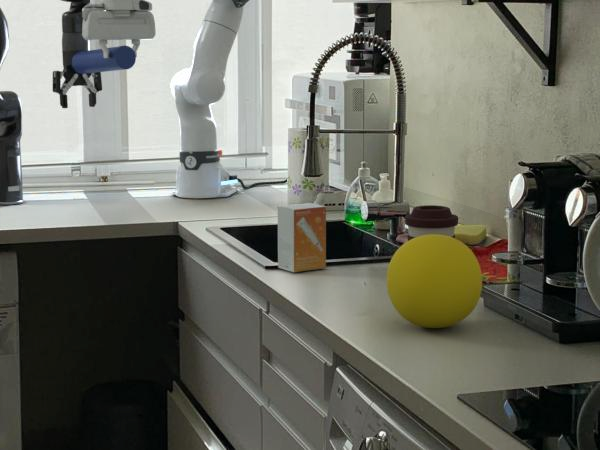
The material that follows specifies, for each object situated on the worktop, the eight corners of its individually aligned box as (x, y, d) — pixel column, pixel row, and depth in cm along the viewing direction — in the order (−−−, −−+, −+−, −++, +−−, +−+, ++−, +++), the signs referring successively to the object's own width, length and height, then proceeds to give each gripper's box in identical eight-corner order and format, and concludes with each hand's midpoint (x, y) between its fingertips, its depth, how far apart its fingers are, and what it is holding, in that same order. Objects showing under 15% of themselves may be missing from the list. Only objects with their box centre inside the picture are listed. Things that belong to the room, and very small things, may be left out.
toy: (451, 310, 179) (452, 224, 177) (498, 332, 165) (500, 239, 163) (371, 319, 174) (371, 230, 171) (412, 342, 160) (413, 246, 157)
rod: (72, 74, 289) (70, 51, 289) (92, 73, 293) (90, 51, 293) (116, 69, 271) (114, 45, 270) (136, 68, 275) (134, 45, 274)
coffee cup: (400, 280, 202) (400, 204, 200) (450, 279, 203) (451, 203, 201) (409, 292, 193) (410, 212, 190) (462, 291, 193) (463, 211, 191)
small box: (294, 273, 210) (293, 209, 208) (277, 268, 215) (276, 205, 213) (327, 268, 215) (326, 205, 212) (309, 263, 220) (309, 202, 218)
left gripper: (92, 49, 300) (94, 106, 303) (46, 49, 291) (49, 108, 294) (105, 49, 294) (107, 106, 297) (58, 49, 285) (61, 109, 288)
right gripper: (88, 2, 263) (90, 58, 266) (157, 3, 276) (159, 56, 278) (76, 4, 268) (79, 58, 270) (145, 5, 281) (147, 57, 283)
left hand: (78, 107), depth 295 cm, fingers open, 8 cm apart
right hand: (120, 57), depth 275 cm, fingers closed on rod, 6 cm apart
